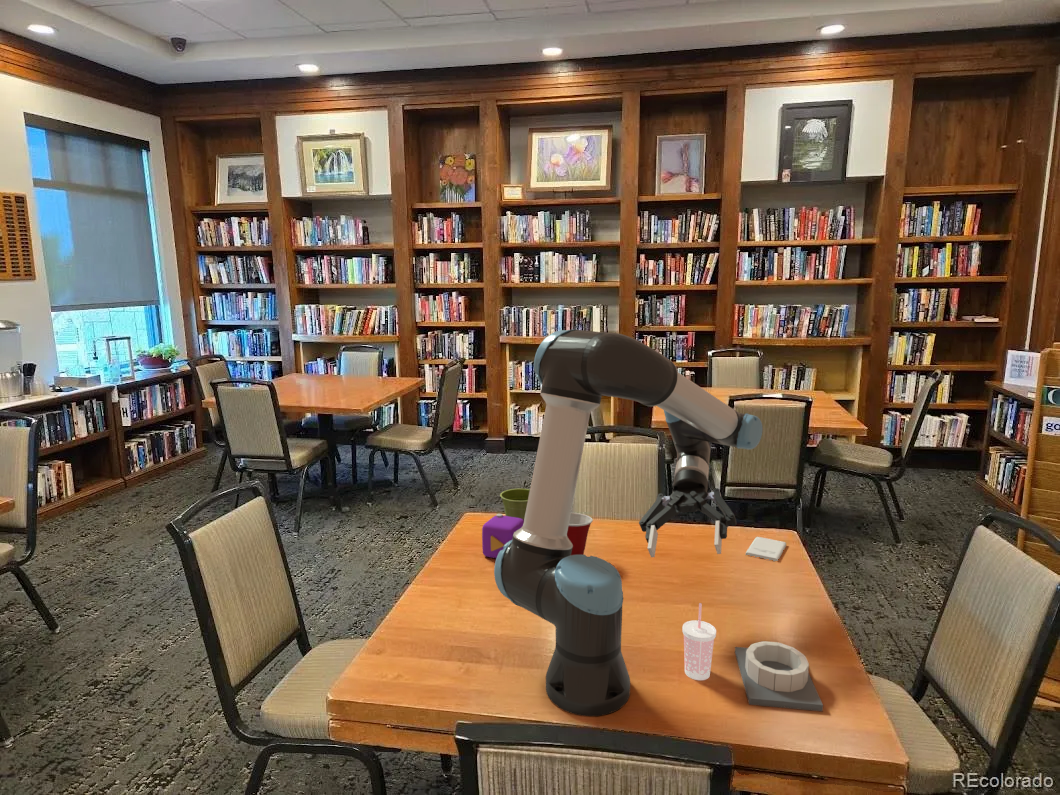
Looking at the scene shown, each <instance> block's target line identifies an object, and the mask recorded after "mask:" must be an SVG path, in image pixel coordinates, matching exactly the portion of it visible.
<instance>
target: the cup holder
mask: <svg viewBox="0 0 1060 795" xmlns="http://www.w3.org/2000/svg"><path fill="white" fill-rule="evenodd" d="M734 655H735V658H736V661H737V665H738V668H739V672H740V675H741V676H740V677H741V680H742V683H743V687H744V691H745V693H746V694H745V695H746V698H747V703H748V705H752V706H761V707H772V708H782V709H794V710H804V711H814V712H823V709H824V705H823V702H822V699H821V698H820V695H819V693H818V691H817V688H816V686H815V685H814V682H813V680H812V677H811V675H810V672H809V667H810V666H809V665H810V663H809V661H808V659H807V657H806V655H805V654H804V653H803V652H801V651H800V650H798V649H796V647H793V646H790V645H788V644H784V643H782V642H778V641H765V640H764V641H763V640H762V641H759V642H755V643H751V644H750V646H749V647H744V646H743V647H742V646H741V647H740V646H735V647H734Z"/></svg>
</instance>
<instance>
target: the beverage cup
mask: <svg viewBox="0 0 1060 795" xmlns="http://www.w3.org/2000/svg"><path fill="white" fill-rule="evenodd" d="M702 607H703V605H702V603H701V602H699V603H698V618H697V619H698V620H696V619H695V620H688V621H685V622H684V623H683V624H682V627H681V628H682V629H681V630H682V631H681V633H682V634H683V651H684V652H683V654H684V655H683V657H684V662H683V663H684V674H685V675H686V676H687V677H688V678H690V679H692V680H695V681H706V680H707V679H709V678H710V676H711V675H710V674H711V670H712V669H711V668H712V658H713V652H714V651H713V650H714V644H715V642H714V641H715V638H716V637H717V629H716V627H715V626H714V625H712V624H711V623H709V622H706V621H703V620H702Z"/></svg>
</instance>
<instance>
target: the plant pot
mask: <svg viewBox="0 0 1060 795" xmlns="http://www.w3.org/2000/svg"><path fill="white" fill-rule="evenodd" d="M529 492H530V488H511V489H506V490H504V491H502V492H500V494H499V496H500V498H501V499H502V500H501V501H502V504H503V507H504V513H505V515H504V516H509V517H516V518H521V519H523V520H524V518H525V513H526V508H527V503H528V497H529Z"/></svg>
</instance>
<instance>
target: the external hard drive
mask: <svg viewBox="0 0 1060 795" xmlns="http://www.w3.org/2000/svg"><path fill="white" fill-rule="evenodd" d="M786 547H787V542H785V541H780V540H776V539H772V538H767V537H762V536H756V537H755V538H754V540H753V541H752V543H751V544H750V545H749V547H748V548H747V549H746V552H745V556H746V555H750V556H749V557H751V556H755V557H754V558H756V557H760V558H759V559H762V558H764V559H763V560H765V559H769V560H768V561H770V560H773V561H772V562H775V561H779V560H780V558H781V556H782V554H783V552H784V551H783V550H785V549H786ZM778 559H779V560H778Z"/></svg>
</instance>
